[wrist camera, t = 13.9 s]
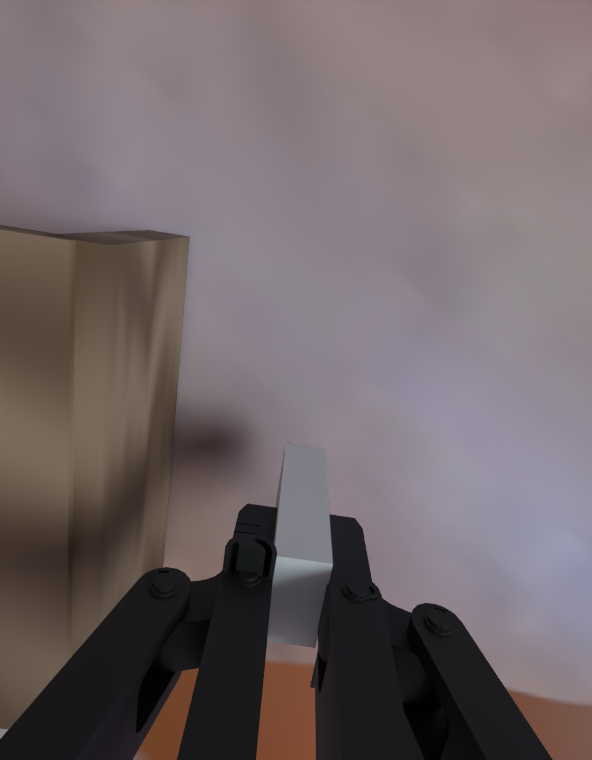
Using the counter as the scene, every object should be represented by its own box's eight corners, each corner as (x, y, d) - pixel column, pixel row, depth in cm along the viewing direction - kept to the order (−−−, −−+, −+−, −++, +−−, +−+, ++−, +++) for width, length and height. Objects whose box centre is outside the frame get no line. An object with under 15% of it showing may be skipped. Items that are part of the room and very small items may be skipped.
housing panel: (108, 223, 19) (-37, 223, 11) (189, 236, 19) (104, 246, 11) (98, 560, 24) (-6, 727, 16) (162, 569, 24) (91, 740, 16)
